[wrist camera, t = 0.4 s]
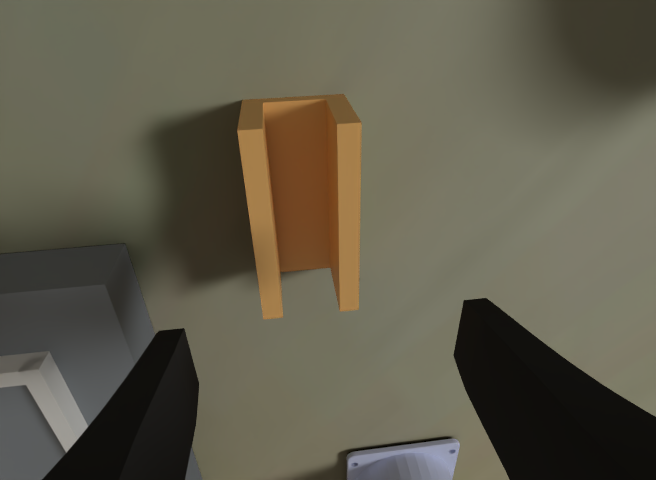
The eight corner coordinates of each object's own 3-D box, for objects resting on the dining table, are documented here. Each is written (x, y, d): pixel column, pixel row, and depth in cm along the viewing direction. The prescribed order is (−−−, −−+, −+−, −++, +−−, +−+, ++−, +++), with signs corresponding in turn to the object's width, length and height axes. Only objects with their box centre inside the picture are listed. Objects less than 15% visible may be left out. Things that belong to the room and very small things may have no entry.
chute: (344, 256, 22) (358, 309, 18) (263, 263, 21) (263, 319, 18) (342, 92, 18) (361, 122, 14) (242, 98, 17) (237, 130, 14)
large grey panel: (204, 484, 30) (196, 549, 27) (-10, 513, 29) (-46, 585, 26) (125, 243, 20) (96, 300, 16) (-219, 272, 18) (-327, 341, 15)
